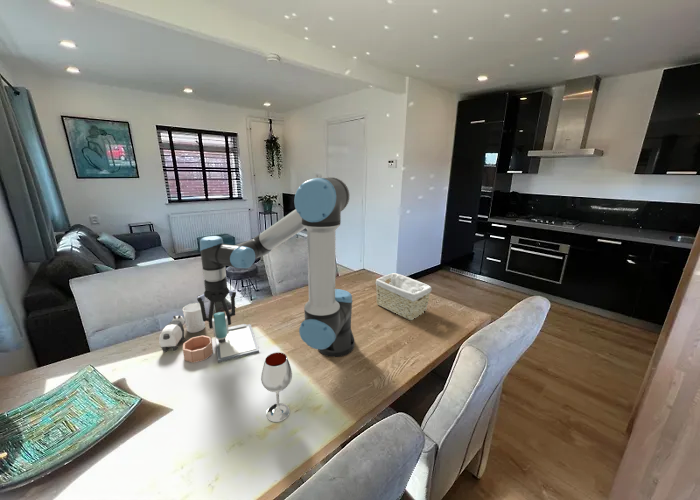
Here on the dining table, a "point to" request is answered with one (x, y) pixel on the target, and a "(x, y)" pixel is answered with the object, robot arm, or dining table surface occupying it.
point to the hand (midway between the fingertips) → (221, 333)
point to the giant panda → (172, 334)
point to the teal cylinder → (220, 326)
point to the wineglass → (276, 383)
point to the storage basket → (402, 295)
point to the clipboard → (237, 343)
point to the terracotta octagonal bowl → (197, 348)
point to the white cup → (193, 317)
